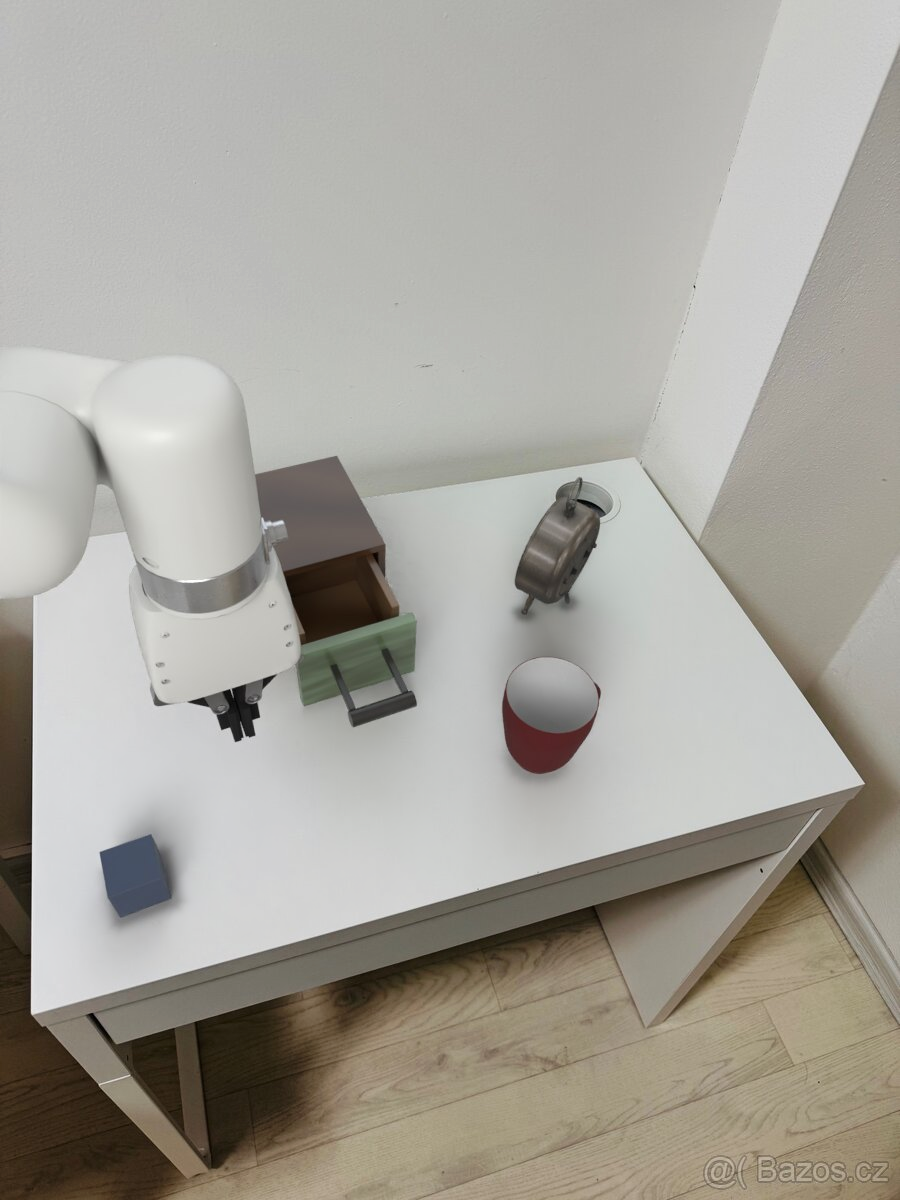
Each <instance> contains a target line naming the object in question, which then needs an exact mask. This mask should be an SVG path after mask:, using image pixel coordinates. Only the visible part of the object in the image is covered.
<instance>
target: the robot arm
mask: <svg viewBox="0 0 900 1200" xmlns="http://www.w3.org/2000/svg"><path fill="white" fill-rule="evenodd" d="M247 415H248V414H247V411H246V405H245V401H244V396H243V394H242V391H241V389H240V387H239V386H238V384H237V383H236V381H235V380H234V378H233V377H232V376H231V375H230V374H229V373H228V372H227V371H226V370H224V369H223V368H222V367H221V366H219V365H218V364H216V363H214V362H213V361H210V360H207V359H204V358H202V357H198V356H194V355H190V354H183V353H182V354H181V353H163V354H154V355H148V356H143V357H140V358H137V359H134V360H126V359H125V360H124V359H117V358H110V357H109V358H108V357H104V356H103V357H102V356H96V355H89V354H84V353H78V352H71V351H66V350H60V349H53V348H48V347H41V346H34V345H33V346H31V345H3V346H0V600H13V599H14V600H16V599H24V598H30V597H34V596H38V595H42V594H44V593H47V592H48V591H51V590H52V589H55V588H57V587H58V586H60V585H61V584H62V583H63V582H65V581H66V580H67V579H68V578H69V577H70V576H71V575H72V574H73V573H74V571H75V570H76V569H77V567H78V566H79V564H80V562H81V561H82V559H83V557H84V555H85V553H86V550H87V547H88V542H89V539H90V534H91V529H92V523H93V518H94V517H93V516H94V511H95V501H96V494H97V488H98V485H104V486H106V487H107V488H109V489H110V490H111V491H112V492H113V495H114V499H115V501H116V505H117V507H118V511H119V515H120V518H121V521H122V524H123V527H124V530H125V533H126V536H127V540H128V543H129V546H130V549H131V552H132V555H133V558H134V561H135V565H134V567H132V569H131V571H130V573H129V577H128V596H129V606H130V612H131V619H132V623H133V626H134V627H133V628H134V631H135V634H136V639H137V642H138V646H139V650H140V653H141V657H142V659H143V662H144V665H145V668H146V673H147V675H148V679H149V681H150V684H149V691H150V694H151V698H152V699H151V700H152V703H153V706H155V707H164V706H170V705H177V704H183V703H188V704H192V705H195V706H196V705H197V706H201V707H206V708H210V710H211V712H212V713H213V714H214V715H216V719H217V722H218V725H219V727H220V730H221V731H223V730H226V729H230V732H231V735H232V738H233V741H234V743H237V742H241V741H243V739H244V738H247V737H248V738H249V739H251V738H253V737H256V730H255V726H254V720H257V719H260V718H261V714H260V708H259V703H258V702H260V701H261V700H262V697H263V690H264V689H265V688H266V687H267V686H268V685H269V684H270V683H271V682H272V681H273V680H274V679H275V678H276V677H277V676H278V674H280V673H283V672H285V671H288V670H289V669H291V668H293V667H294V666H296V664H298V663H300V662H302V661H303V659H304V656H303V654H302V652H301V643H300V637H299V632H298V627H297V622H296V618H295V613H294V609H293V605H292V601H291V597H290V593H289V591H288V588H287V585H286V581H285V577H284V574H283V571H282V568H281V564H280V562H279V559H278V557H277V554H276V552H275V550H274V548H273V546H276V545H277V543H279V542H283V541H286V540H288V534H287V529H286V526H285V524H284V521H283V520H279V521H275V522H271V521H270V520H269V521H264V519H263V517H262V518H261V514H260V507H259V501H258V493H257V485H256V478H255V474H256V471H255V464H254V457H253V451H252V445H251V444H252V443H251V437H250V431H249V422H248V416H247ZM244 735H245V736H244Z"/></svg>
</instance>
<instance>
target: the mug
mask: <svg viewBox="0 0 900 1200" xmlns="http://www.w3.org/2000/svg"><path fill="white" fill-rule="evenodd" d="M601 695H602V690H601V687H600V686H599V684H598V683H596V682H595V681H594V680H593V678H592V677H591V676H590V674H589V673H587V672H586V671H585V670H584V669H583V668H581V666H580V665H578V664H576V663H574V662H573V661H569V660H567V659H564V658H560V657H555V656H538V657H534V658H531V659H527V660H525V661H523V662H521V663H520V664H518V665H517V666H516V667H515V668H514V669H513V670H512V671H511V673H509V676H508V678H507V680H506V683H505V687H504V691H503V697H502V703H501V716H502V725H503V733H504V741H505V745H506V748H507V751H508V752H509V754H510V756H511V757H512V759H513V760H514V761H515V763H517V765H518V766H520V767H521V768H522V769H523V770H525V771H526V772H528V773H530V774H536V775H544V774H548V773H552V772H554V771H557V770H559V769H561V768H562V767H564V766H566V765H567V764H568V763H569V762H570V761H571V759H572V758H573V757H574V756H575V754H576V753H577V752H578V750H580V748H581V746H582V745H583V743H584V742H585V740H586V739H587V738H588V736H589V734H590V733H591V731H592V729H593V727H594V723H595V721H596V717H597V715H598V711H599V706H600V700H601Z"/></svg>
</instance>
